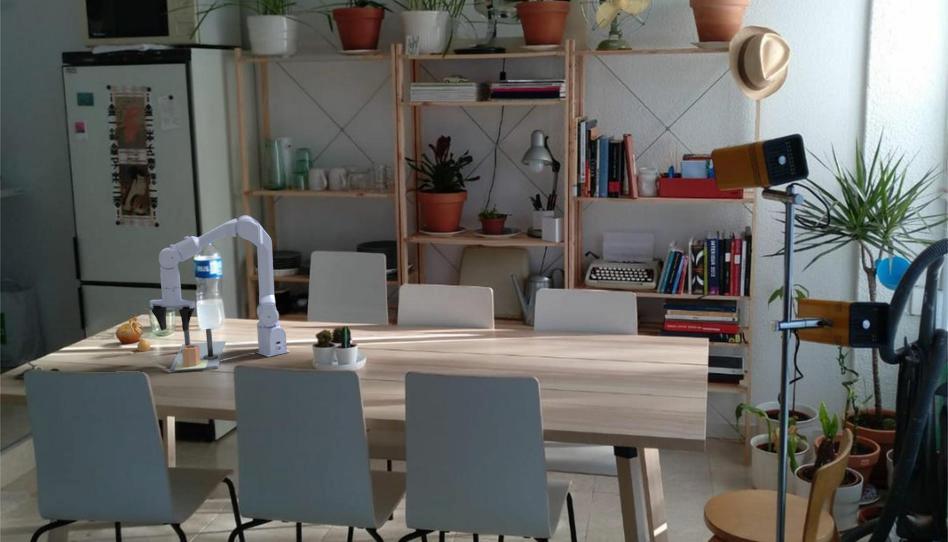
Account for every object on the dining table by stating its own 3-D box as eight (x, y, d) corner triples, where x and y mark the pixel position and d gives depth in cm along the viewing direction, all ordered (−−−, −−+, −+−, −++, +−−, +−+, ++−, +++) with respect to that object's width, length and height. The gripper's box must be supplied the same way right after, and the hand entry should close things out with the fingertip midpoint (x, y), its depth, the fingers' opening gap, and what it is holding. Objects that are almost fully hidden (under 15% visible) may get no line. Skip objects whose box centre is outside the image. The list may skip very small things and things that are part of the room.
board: (182, 346, 335) (182, 343, 335) (226, 343, 337) (225, 341, 337) (170, 371, 306) (169, 369, 306) (217, 368, 308) (217, 365, 308)
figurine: (146, 355, 325) (143, 319, 323) (127, 356, 325) (124, 319, 323) (154, 348, 333) (151, 313, 331) (136, 349, 333) (132, 313, 331)
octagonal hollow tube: (203, 362, 311) (202, 345, 310) (193, 367, 307) (192, 349, 306) (189, 361, 313) (188, 344, 312) (179, 365, 309) (178, 348, 308)
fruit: (148, 335, 346) (141, 318, 341) (141, 352, 340) (134, 335, 335) (125, 335, 347) (118, 318, 341) (117, 352, 341) (110, 335, 336)
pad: (178, 362, 314) (178, 361, 314) (208, 360, 315) (208, 359, 315) (174, 370, 305) (174, 369, 305) (205, 368, 306) (205, 367, 306)
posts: (178, 351, 326) (176, 323, 324) (190, 348, 329) (188, 320, 327) (208, 360, 314) (206, 331, 313) (220, 357, 318) (218, 328, 316)
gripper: (198, 285, 316) (202, 327, 318) (156, 283, 319) (160, 326, 322) (187, 289, 309) (190, 333, 312) (144, 288, 313) (148, 331, 315)
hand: (174, 329), depth 316 cm, fingers open, 7 cm apart
